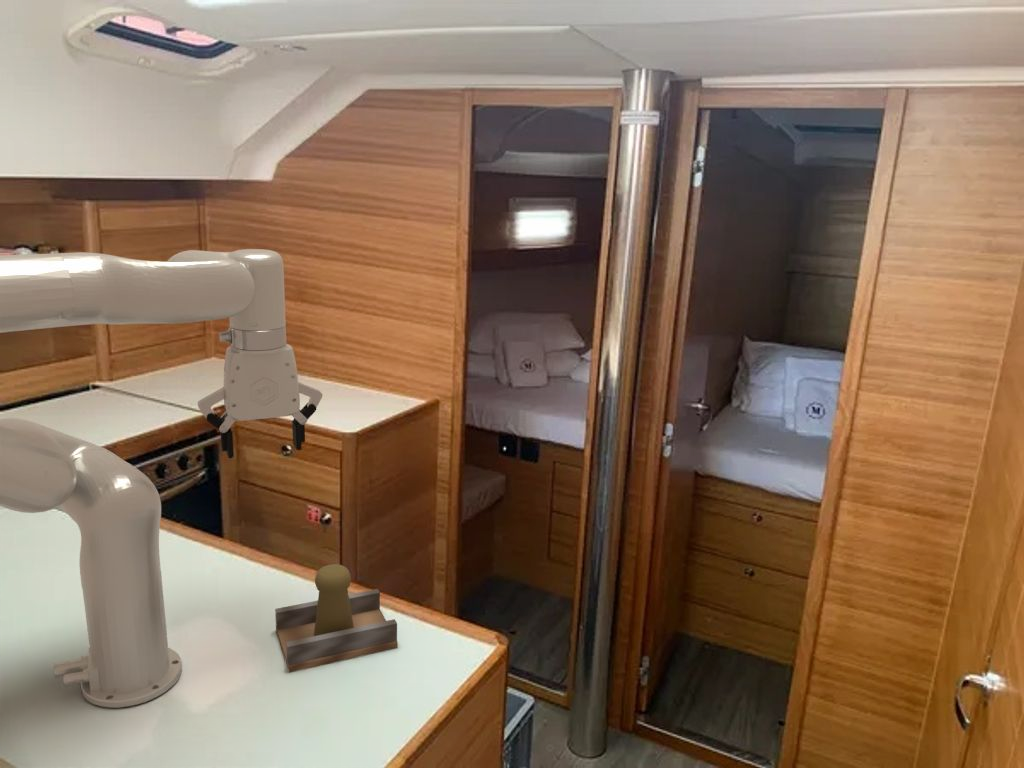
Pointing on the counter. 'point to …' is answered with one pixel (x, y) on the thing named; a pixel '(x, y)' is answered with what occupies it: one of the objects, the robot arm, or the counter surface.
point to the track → (334, 633)
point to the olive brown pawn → (333, 600)
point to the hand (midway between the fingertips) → (264, 451)
